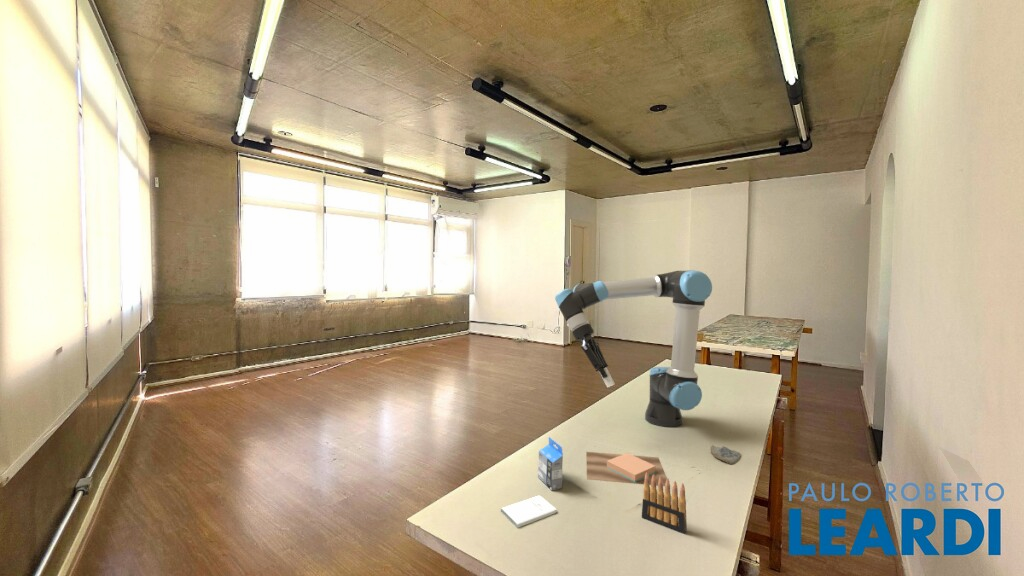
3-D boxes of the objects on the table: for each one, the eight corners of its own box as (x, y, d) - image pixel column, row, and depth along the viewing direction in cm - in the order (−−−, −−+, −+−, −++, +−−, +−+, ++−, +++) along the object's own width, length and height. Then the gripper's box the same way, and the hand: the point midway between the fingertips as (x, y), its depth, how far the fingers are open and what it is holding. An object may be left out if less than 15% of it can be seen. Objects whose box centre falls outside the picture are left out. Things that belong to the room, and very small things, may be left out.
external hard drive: (500, 513, 107) (538, 499, 113) (517, 530, 100) (556, 514, 106) (500, 507, 107) (539, 494, 113) (517, 524, 100) (556, 508, 106)
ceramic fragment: (713, 443, 147) (742, 448, 140) (714, 451, 147) (744, 457, 139) (700, 451, 140) (731, 457, 132) (701, 460, 140) (732, 467, 132)
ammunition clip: (641, 517, 104) (642, 472, 104) (643, 514, 106) (644, 469, 105) (684, 534, 98) (685, 486, 97) (686, 530, 99) (687, 482, 99)
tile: (606, 460, 129) (635, 474, 120) (627, 452, 135) (655, 465, 126) (606, 467, 129) (634, 482, 120) (627, 459, 135) (655, 472, 126)
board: (586, 454, 140) (586, 451, 140) (658, 460, 136) (658, 457, 136) (586, 482, 122) (586, 479, 122) (670, 490, 117) (670, 486, 117)
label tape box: (537, 477, 125) (537, 438, 124) (548, 474, 126) (549, 436, 126) (551, 491, 117) (551, 449, 116) (563, 488, 118) (563, 447, 118)
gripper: (578, 332, 158) (608, 388, 150) (565, 332, 147) (596, 392, 139) (594, 323, 155) (625, 379, 147) (582, 322, 144) (614, 383, 136)
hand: (611, 385), depth 143 cm, fingers closed
